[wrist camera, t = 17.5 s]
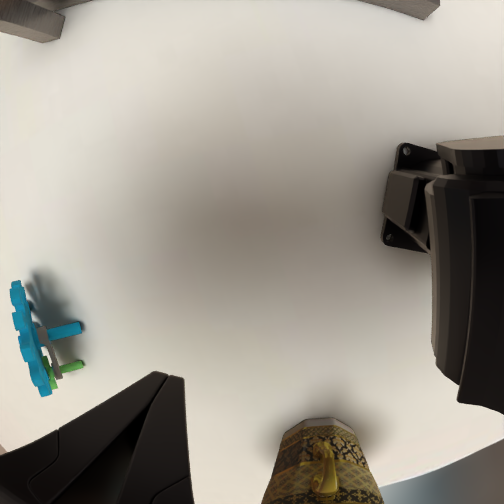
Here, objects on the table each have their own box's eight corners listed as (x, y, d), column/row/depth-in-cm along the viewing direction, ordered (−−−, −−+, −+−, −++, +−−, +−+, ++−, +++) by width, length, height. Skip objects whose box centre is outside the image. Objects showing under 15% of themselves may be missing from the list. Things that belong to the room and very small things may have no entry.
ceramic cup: (362, 460, 26) (373, 538, 17) (267, 466, 27) (259, 546, 18) (382, 373, 22) (414, 473, 13) (257, 381, 23) (241, 488, 14)
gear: (4, 261, 21) (3, 337, 14) (62, 250, 25) (83, 318, 18) (32, 351, 26) (50, 428, 19) (80, 340, 30) (108, 411, 23)
